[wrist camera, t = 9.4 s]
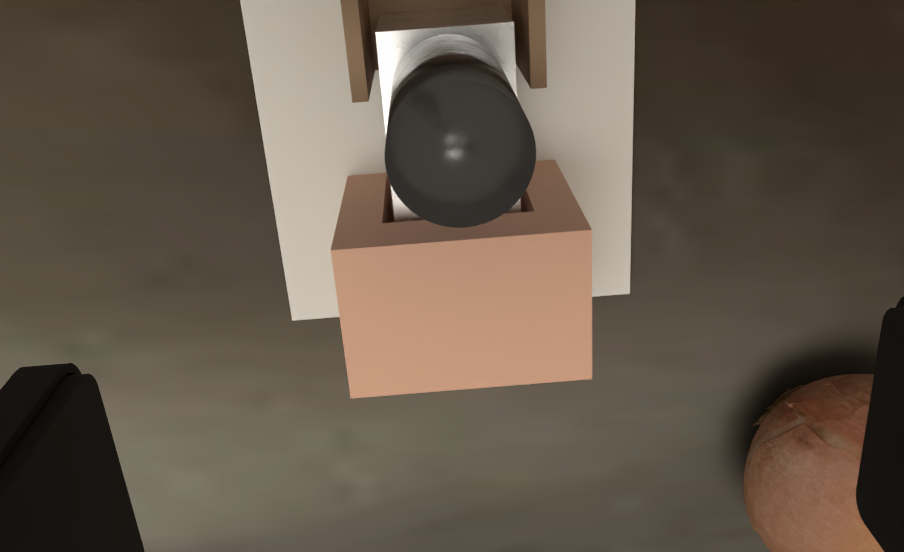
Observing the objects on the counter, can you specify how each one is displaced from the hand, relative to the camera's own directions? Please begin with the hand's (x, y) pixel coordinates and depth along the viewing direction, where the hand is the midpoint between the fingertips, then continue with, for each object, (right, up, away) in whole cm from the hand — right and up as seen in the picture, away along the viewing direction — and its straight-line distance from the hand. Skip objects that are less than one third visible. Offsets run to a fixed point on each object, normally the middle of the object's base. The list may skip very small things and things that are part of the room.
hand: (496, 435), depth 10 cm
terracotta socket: (0, +4, +24) cm, 24 cm away
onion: (+16, -5, +30) cm, 34 cm away
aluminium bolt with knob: (-1, +7, +21) cm, 22 cm away
